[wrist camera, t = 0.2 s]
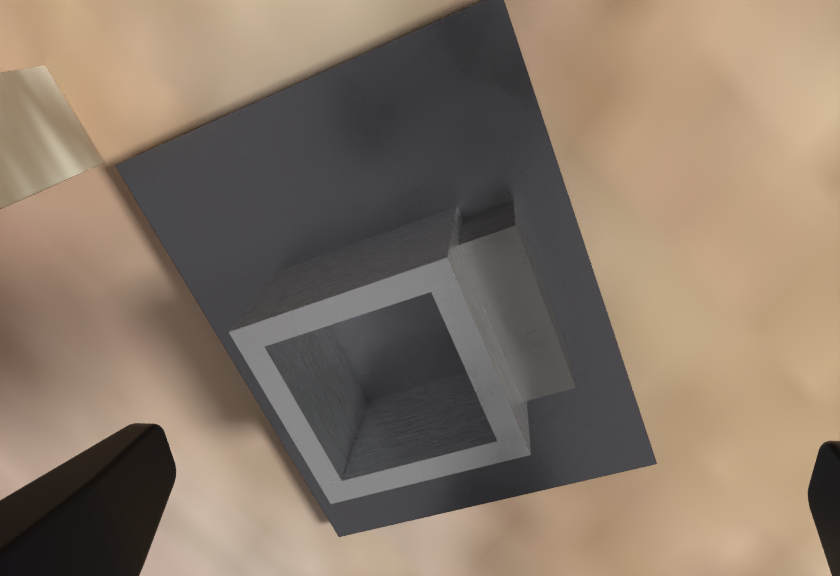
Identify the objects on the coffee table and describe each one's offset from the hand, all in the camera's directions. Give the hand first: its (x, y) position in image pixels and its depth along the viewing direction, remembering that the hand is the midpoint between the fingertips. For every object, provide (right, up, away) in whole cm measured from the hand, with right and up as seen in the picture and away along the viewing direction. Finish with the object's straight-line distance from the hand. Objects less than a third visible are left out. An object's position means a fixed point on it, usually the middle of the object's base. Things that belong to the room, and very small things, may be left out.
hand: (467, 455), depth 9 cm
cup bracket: (-1, +1, +15) cm, 15 cm away
